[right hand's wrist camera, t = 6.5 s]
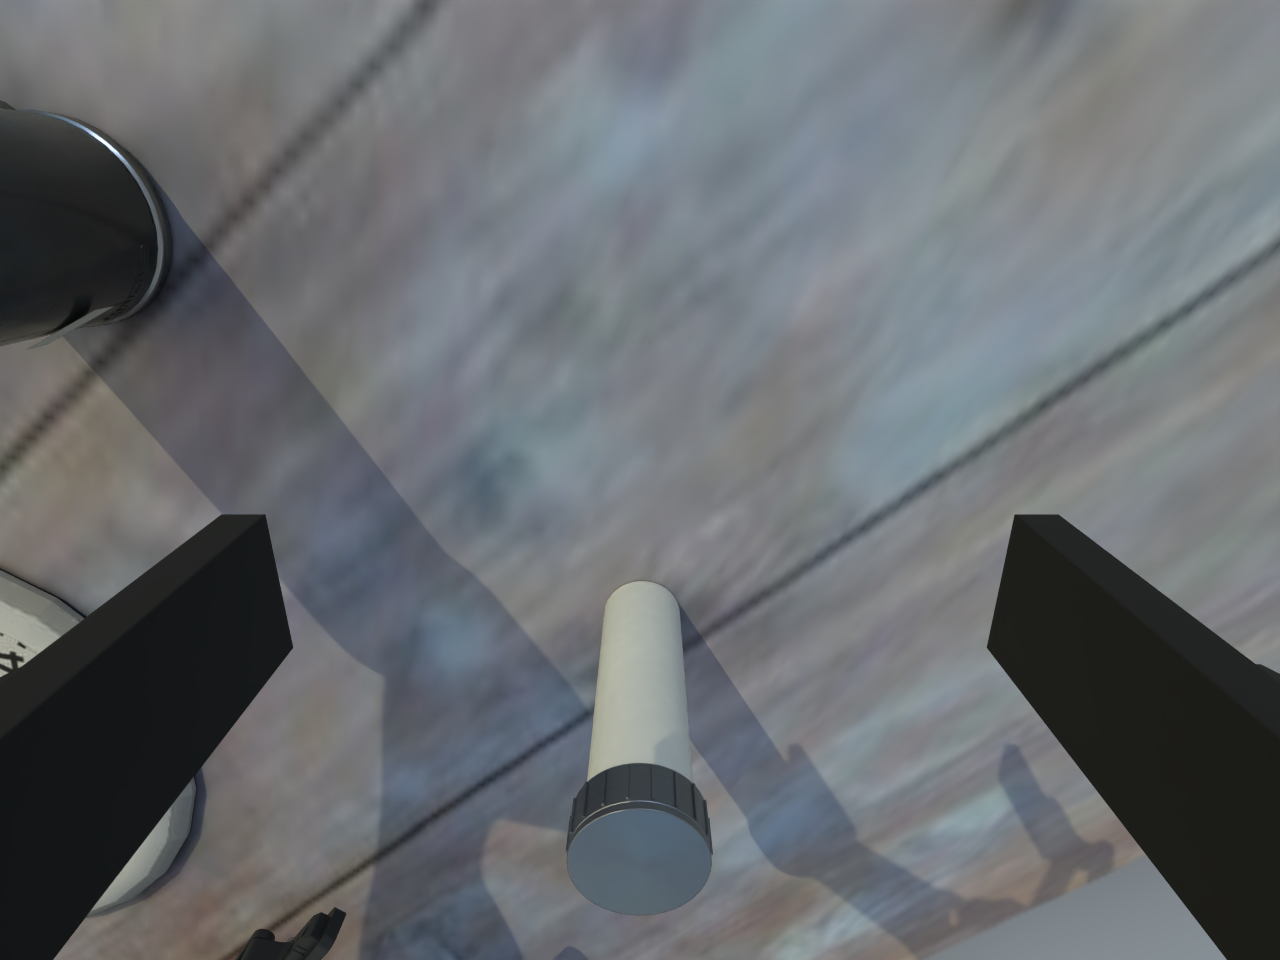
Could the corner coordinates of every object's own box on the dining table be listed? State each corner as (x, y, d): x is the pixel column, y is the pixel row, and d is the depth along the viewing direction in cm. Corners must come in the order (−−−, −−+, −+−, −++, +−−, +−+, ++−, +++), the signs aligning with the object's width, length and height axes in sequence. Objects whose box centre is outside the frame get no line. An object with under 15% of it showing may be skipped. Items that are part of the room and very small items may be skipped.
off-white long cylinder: (656, 568, 41) (662, 792, 25) (693, 626, 42) (719, 871, 27) (590, 600, 41) (557, 836, 26) (628, 656, 43) (617, 910, 28)
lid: (666, 740, 27) (668, 786, 25) (732, 835, 28) (738, 885, 26) (544, 793, 28) (536, 842, 26) (615, 882, 29) (612, 935, 27)
